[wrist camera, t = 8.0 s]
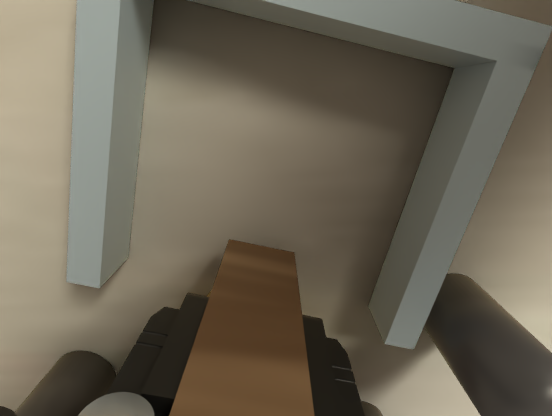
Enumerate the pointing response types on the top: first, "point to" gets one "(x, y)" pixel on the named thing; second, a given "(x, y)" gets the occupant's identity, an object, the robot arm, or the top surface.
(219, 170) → the top surface
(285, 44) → the top surface
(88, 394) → the spacers
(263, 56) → the top surface
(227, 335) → the wooden block stand
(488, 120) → the grey u-shaped bracket
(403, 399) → the top surface
